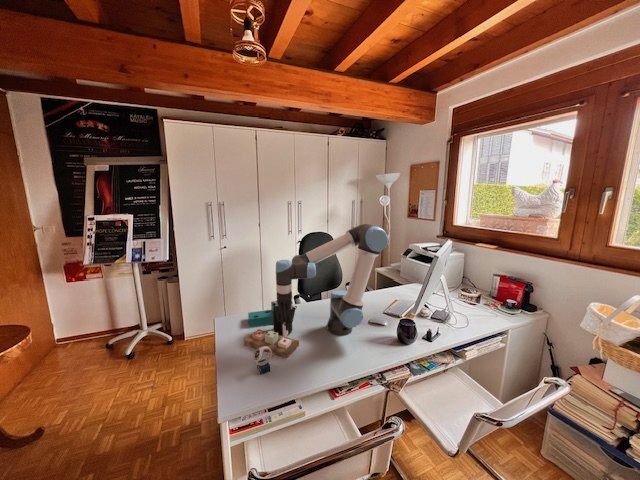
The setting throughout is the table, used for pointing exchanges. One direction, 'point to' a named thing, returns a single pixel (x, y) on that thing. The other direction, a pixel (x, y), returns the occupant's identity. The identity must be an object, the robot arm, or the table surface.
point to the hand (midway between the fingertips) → (285, 335)
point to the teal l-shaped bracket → (261, 317)
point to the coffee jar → (279, 323)
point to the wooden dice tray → (274, 348)
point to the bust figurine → (262, 364)
